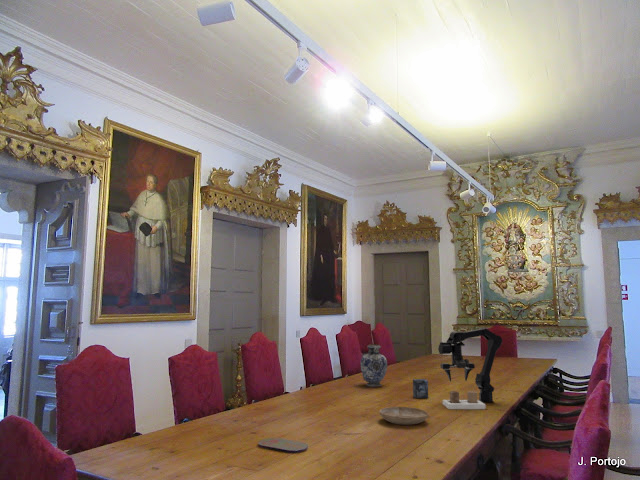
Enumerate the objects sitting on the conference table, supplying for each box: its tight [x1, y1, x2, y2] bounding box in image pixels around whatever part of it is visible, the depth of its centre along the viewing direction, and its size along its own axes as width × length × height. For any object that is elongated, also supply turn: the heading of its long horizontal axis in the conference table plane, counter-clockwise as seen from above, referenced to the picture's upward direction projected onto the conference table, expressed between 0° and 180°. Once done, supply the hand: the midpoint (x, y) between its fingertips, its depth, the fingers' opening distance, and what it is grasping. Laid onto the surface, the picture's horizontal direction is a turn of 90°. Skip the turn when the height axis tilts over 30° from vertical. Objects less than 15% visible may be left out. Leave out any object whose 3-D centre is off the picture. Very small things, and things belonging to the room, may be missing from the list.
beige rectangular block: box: [449, 390, 460, 403], centre depth 260 cm, size 4×4×8 cm
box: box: [412, 378, 429, 399], centre depth 286 cm, size 8×6×11 cm
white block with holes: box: [442, 390, 487, 410], centre depth 261 cm, size 20×12×8 cm, turn 91°
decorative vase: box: [359, 343, 388, 388], centre depth 328 cm, size 21×19×28 cm
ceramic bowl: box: [379, 406, 429, 426], centre depth 227 cm, size 23×24×5 cm
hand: (458, 380), depth 273 cm, fingers open, 9 cm apart
